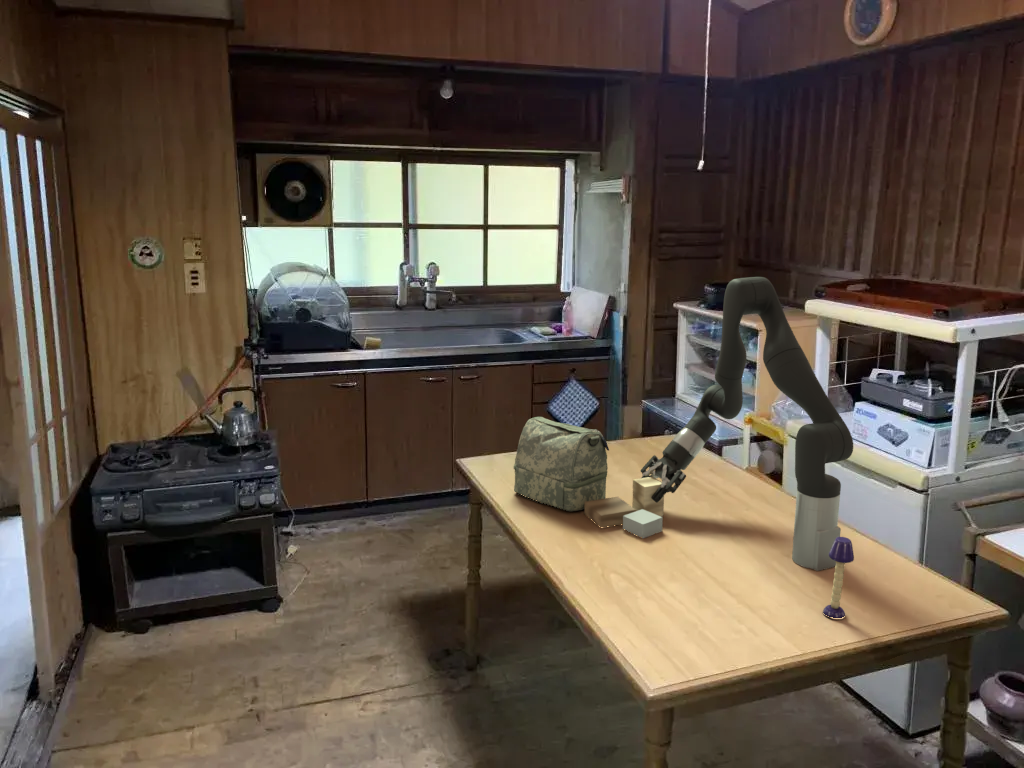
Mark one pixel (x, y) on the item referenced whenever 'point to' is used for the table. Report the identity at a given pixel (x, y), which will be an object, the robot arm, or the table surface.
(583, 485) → the lunch bag
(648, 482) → the oak block
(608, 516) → the walnut block
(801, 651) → the table surface
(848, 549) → the toy lamp
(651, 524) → the grey block
